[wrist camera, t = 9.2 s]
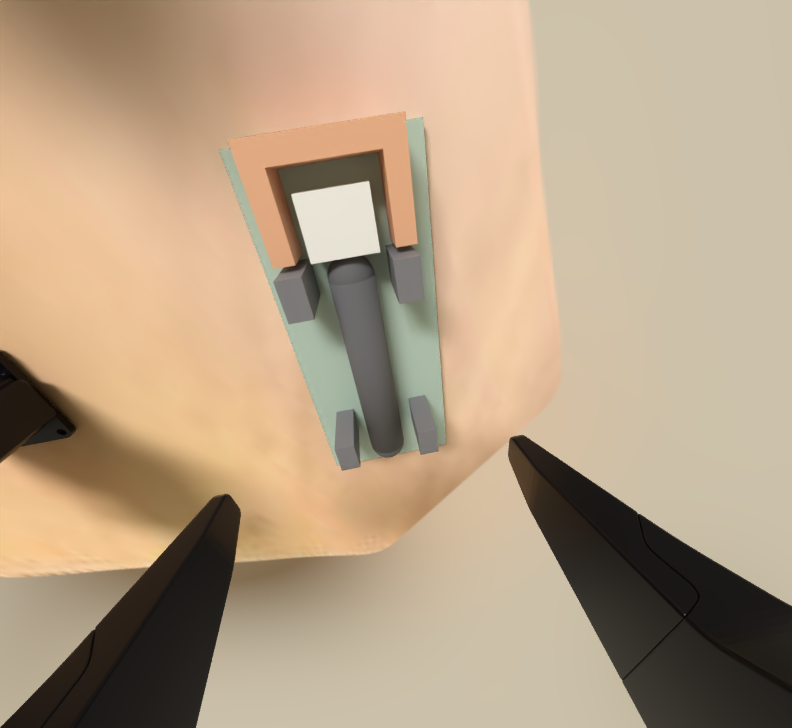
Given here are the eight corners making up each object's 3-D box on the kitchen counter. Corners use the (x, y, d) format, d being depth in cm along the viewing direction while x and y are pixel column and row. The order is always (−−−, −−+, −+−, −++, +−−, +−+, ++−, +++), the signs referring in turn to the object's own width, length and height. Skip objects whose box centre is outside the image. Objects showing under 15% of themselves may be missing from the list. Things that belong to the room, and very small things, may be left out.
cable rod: (367, 443, 23) (369, 468, 21) (299, 191, 14) (290, 194, 12) (408, 435, 24) (413, 460, 22) (366, 180, 14) (368, 181, 12)
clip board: (337, 460, 25) (335, 505, 21) (222, 150, 13) (180, 142, 10) (444, 439, 25) (459, 480, 22) (420, 118, 14) (443, 100, 10)
